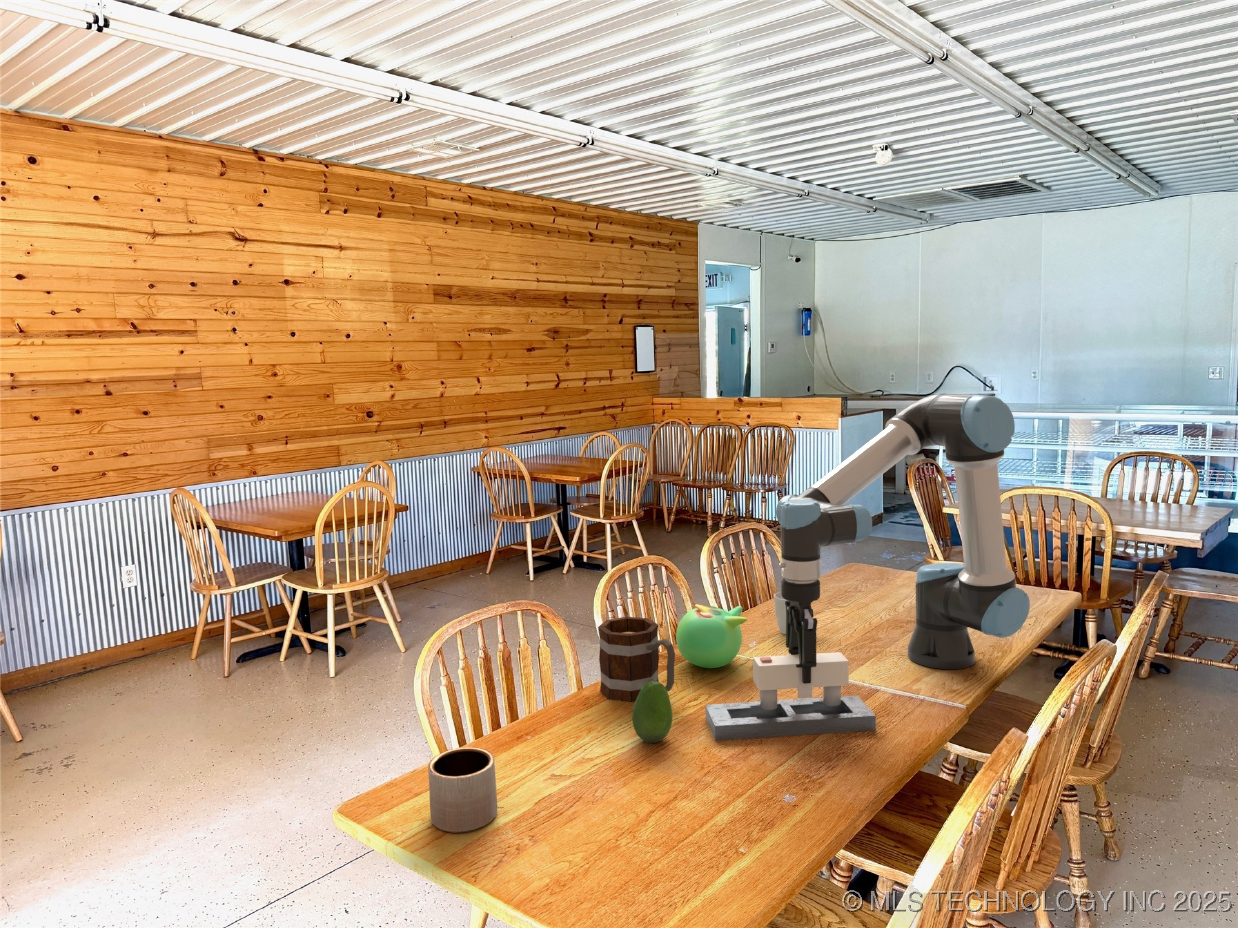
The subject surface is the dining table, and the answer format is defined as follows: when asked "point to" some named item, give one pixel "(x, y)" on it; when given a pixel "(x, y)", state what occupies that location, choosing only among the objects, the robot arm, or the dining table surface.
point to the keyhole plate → (788, 718)
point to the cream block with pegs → (784, 675)
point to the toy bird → (710, 635)
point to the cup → (780, 612)
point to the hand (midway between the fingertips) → (800, 691)
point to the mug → (631, 657)
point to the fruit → (652, 712)
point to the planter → (462, 789)
